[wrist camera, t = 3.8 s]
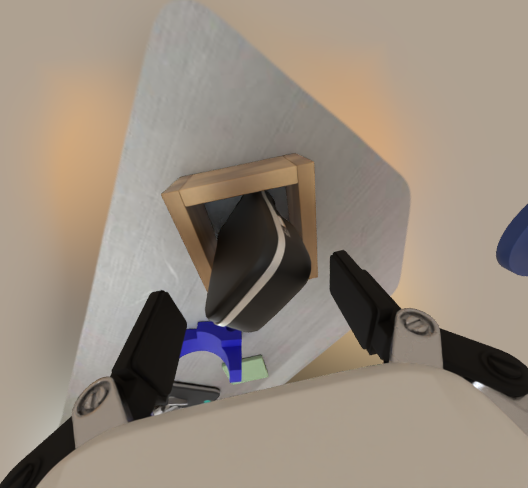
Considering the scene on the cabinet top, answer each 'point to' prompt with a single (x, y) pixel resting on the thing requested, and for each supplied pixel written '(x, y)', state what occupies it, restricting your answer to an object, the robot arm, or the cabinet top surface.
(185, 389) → the smartphone
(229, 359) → the cable clip
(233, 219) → the black zipper case
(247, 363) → the mat
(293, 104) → the cabinet top surface
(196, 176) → the holder
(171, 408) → the caliper
